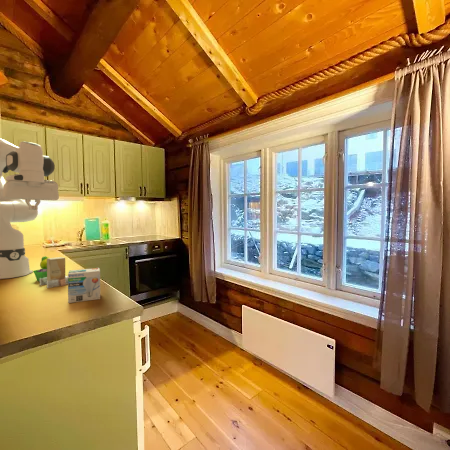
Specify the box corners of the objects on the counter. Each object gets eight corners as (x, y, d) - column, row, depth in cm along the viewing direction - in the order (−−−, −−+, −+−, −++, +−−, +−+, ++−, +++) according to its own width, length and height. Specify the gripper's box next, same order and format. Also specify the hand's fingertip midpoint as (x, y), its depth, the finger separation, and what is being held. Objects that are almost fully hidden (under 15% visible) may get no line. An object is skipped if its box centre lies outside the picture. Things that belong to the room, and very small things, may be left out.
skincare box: (50, 286, 114) (49, 259, 113) (46, 285, 116) (45, 258, 116) (66, 283, 119) (65, 257, 118) (62, 282, 121) (61, 256, 121)
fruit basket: (40, 283, 120) (39, 259, 120) (31, 280, 125) (30, 257, 124) (65, 278, 130) (65, 255, 130) (56, 275, 135) (56, 254, 134)
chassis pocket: (35, 283, 120) (35, 277, 120) (65, 277, 130) (65, 271, 130) (52, 289, 109) (52, 282, 109) (84, 283, 120) (84, 276, 120)
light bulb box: (67, 303, 92) (67, 273, 92) (69, 298, 98) (68, 270, 98) (101, 299, 97) (100, 270, 97) (100, 294, 103) (99, 267, 103)
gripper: (54, 181, 125) (55, 210, 126) (0, 176, 108) (2, 209, 109) (60, 180, 122) (61, 210, 122) (5, 175, 105) (7, 209, 105)
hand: (33, 209), depth 115 cm, fingers closed
